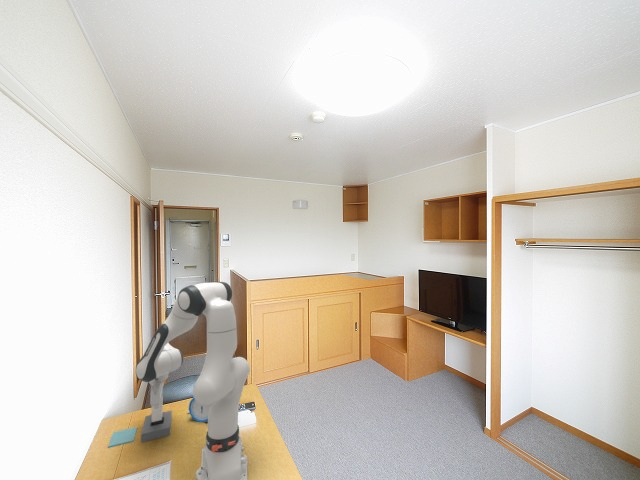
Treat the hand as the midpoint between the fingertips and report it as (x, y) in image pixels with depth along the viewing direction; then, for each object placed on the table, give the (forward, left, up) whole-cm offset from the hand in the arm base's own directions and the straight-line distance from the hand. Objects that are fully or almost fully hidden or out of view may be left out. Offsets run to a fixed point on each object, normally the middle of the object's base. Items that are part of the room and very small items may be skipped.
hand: (157, 405), depth 128 cm
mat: (0, +13, -12) cm, 17 cm away
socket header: (0, 0, -12) cm, 12 cm away
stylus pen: (+13, -17, -12) cm, 25 cm away
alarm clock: (0, -20, -12) cm, 23 cm away
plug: (0, 0, -6) cm, 6 cm away
